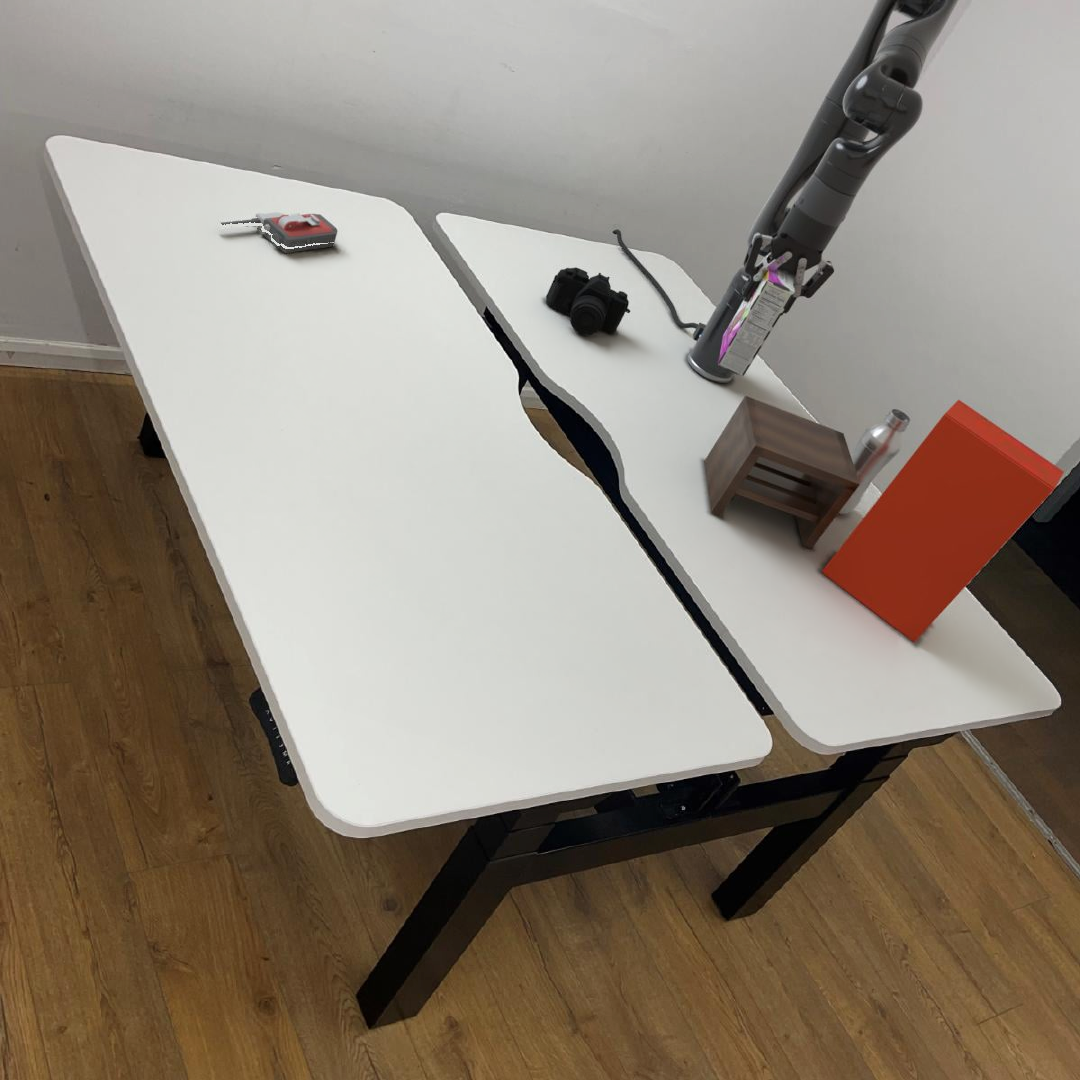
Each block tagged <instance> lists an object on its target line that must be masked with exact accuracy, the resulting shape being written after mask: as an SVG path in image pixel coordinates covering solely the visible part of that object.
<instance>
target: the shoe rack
mask: <svg viewBox="0 0 1080 1080" xmlns="http://www.w3.org/2000/svg"><path fill="white" fill-rule="evenodd" d="M703 465H704V470H705V478H706V479H705V480H706V487H707V493H708V500H709V501H708V502H709V507H710V514H713V515H716V516H718V517H721V516H722V515H723V513H724V511H725V509H726V508H727V507H728V505H729V503H730V502H731V500H732V499H733V497H734V496H735V495H739V496H740V497H744V498H747V499H749V500H752V501H754V502H757V503H759V504H763V505H766V506H769V507H771V508H774V509H777V510H780V511H782V512H785V513H788V514H791V515H793V516H795V518H796V522H797V527H798V532H799V536H800V539H801V544H802V546H803V547H804V548H808V549H813V547H814V546H815V545H816V543H817V542H818V541H819V540H820V538H821V537H822V536H823V535H824V533H825V532H826V530H827V529H828V528H829V527H830V525H831V523H833V521H835V520H834V519H836V517H837V516H838V515H839V514H840V513H839V512H840V510H841V509H842V508H843V506H844V505H845V504H846V502H847V501H848V500H849V498H850V497H851V496H852V494H853V493H854V492H855V491H856V489H857V488H858V487H859V485H860V483H859V480H858V477H857V474H856V470H855V467H854V464H853V461H852V458H851V452H850V449H849V446H848V443H847V440H846V436H845V434H844V432H842V431H839V430H836V429H834V428H831V427H828V426H825V425H824V424H821V423H818V422H815V421H812V420H810V419H807V418H805V417H802V416H800V415H797V414H795V413H792V412H789V411H787V410H784V409H782V408H779V407H776V406H774V405H771V404H769V403H766V402H764V401H761V400H759V399H756V398H753V397H750V396H748V395H744V397H743V398H742V400H741V402H740V403H739V405H738V406H737V408H736V410H735V411H734V413H733V414H732V415H731V418H729V421H728V422H727V423H726V426H725V427H724V428H723V430H722V432H721V433H720V435H719V436H718V438H717V440H716V442H715V443H714V445H713V446H712V448H711V449H710V452H709V453H708V455H707V456H706V457H705V459H704V461H703Z"/></svg>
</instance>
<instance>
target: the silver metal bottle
mask: <svg viewBox="0 0 1080 1080" xmlns="http://www.w3.org/2000/svg"><path fill="white" fill-rule="evenodd" d="M911 422H912V420H911V417H910V416H909V415H908V414H906V412H904V411H902V410H901V409H898V408H891V409H890V410H889V412H888V413H887V414H886V415H885V416H884V418H883V421H880V422H877V423H874V424H872V425H870V426H869V427H867V428H866V429H865V430H864V432H863V433H862V435H861V437H860V438H859V441H858V442H857V444H856V447H855V448H854V450H853V451H852V453H850V455H851V458H852V461H853V464H854V467H855V470H856V474H857V477H858V480H859V483H860V485H859V487H858V488H857V489H856V491H855V492H854V493H853V494H852V496H851V497H850V498H849V500H848V501H847V502H846V504H845V505H844V506H843V508H842V509H841V510H840V512H839V513H838V514H840V515H841V514H842V515H843V514H844V515H845V514H849V513H852V512H853V511H854V510H855V509H856V508H857V507H858V506H859V504H860V503H861V501H862V500H863V497H864V494H865V493H866V491H867V489H868V488H869V486H870V485H871V483H872V482H873V480H874V479H875V478H876V477H877V475H878V474H879V473H880V472H881V471H882V470H883V469H884V468H885V466H887V465H888V464H889V463H890V462H891V461H892V460H893V459H894V458H895V457H896V456H897V455H898V454H899V453H900V451H901V448H902V444H903V435H902V434H903V433H904V432H905V431H906V430H907V428H908V426H909V425H910V423H911ZM902 432H903V433H902Z"/></svg>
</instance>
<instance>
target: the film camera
mask: <svg viewBox="0 0 1080 1080" xmlns="http://www.w3.org/2000/svg"><path fill="white" fill-rule="evenodd" d="M545 303H546V305H547V306H549V307H550V308H552V309H554V310H556V311H558V312H560V313H562V314H565V315H567V316H569V320H570V325H571V327H572V329H573V330H574V331H575V332H576V333H577V334H579V335H582V336H592V335H595V334H596V333H598V331H602V332H604V333H607V334H608V335H612V334H615V332H617V329H618V328H619V326H620V324H621V322H622V320H623V318H624V316H625V314H626V313H627V314H630V313H631V310H630V309H629V304H630V301H629V299H628V294H627V293H626V292H625V291H621V290H619V291H618V292H617V291H616V290H614V289H612V288H611V284H610V276H605V275H603V274H602V273H601V272H598V274H597V275H594V276H591V277H590V276H589V275H588V272H587V271H586V270H584V269H581V268H579V267H566V268H562V269H560V270H559V271H558V272H557V274H555V275H554V278H553V280H552V282H551V285H550V287H549V288H548V291H547V294H546V296H545Z"/></svg>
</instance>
